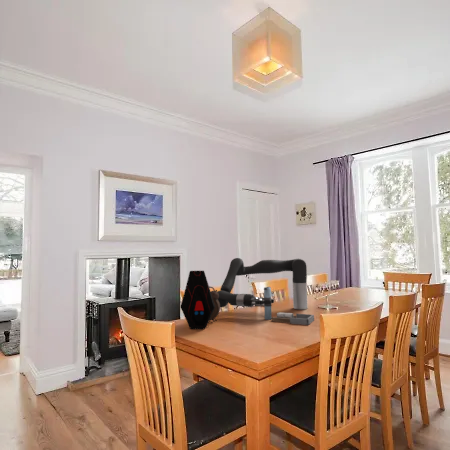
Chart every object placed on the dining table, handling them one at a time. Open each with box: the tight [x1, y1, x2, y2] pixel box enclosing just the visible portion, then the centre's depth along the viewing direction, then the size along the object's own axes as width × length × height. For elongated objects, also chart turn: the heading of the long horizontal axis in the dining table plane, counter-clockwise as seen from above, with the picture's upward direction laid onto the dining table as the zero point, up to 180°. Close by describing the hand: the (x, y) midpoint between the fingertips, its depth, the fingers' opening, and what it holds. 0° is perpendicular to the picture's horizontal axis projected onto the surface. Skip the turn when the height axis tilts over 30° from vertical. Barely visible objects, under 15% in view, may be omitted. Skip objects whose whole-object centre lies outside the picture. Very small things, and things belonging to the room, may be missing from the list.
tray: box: [289, 313, 315, 326], centre depth 188 cm, size 13×10×3 cm
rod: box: [263, 286, 273, 321], centre depth 197 cm, size 6×4×18 cm
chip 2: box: [284, 312, 295, 318], centre depth 191 cm, size 4×4×4 cm
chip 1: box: [276, 311, 287, 318], centre depth 193 cm, size 4×4×4 cm
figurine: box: [180, 270, 215, 330], centre depth 180 cm, size 18×8×30 cm, turn 84°
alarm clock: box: [209, 285, 221, 323], centre depth 193 cm, size 15×7×20 cm, turn 81°
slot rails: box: [271, 315, 296, 324], centre depth 192 cm, size 10×11×2 cm
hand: (272, 301), depth 196 cm, fingers closed on rod, 4 cm apart
